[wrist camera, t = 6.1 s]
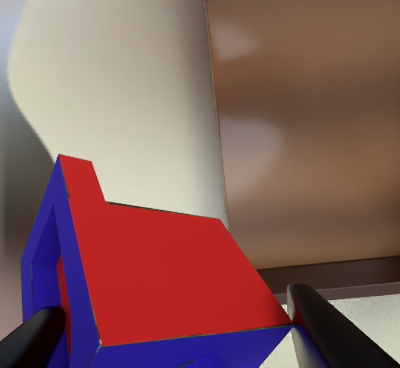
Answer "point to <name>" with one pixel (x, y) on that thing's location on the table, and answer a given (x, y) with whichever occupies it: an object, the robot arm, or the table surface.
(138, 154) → the table surface
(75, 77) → the table surface
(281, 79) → the shelf
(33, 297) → the toy building block
